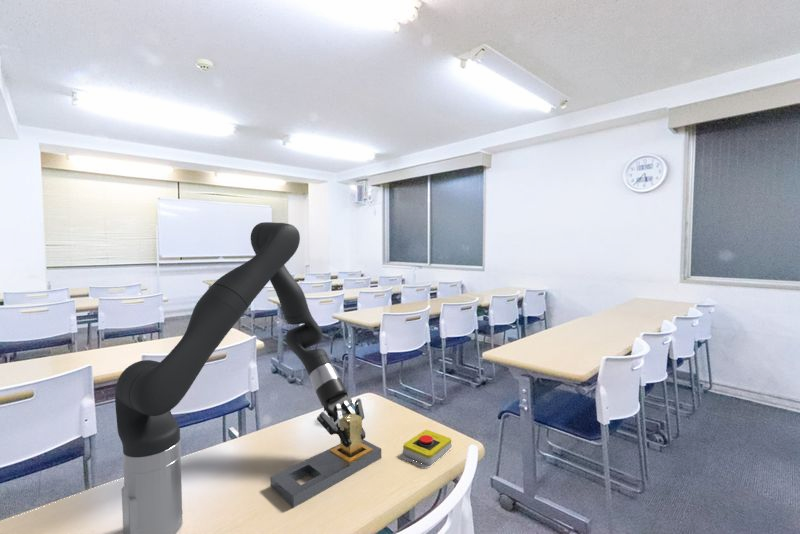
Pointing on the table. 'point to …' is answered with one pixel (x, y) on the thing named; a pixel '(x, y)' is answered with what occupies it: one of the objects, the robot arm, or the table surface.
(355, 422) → the brass peg
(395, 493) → the table surface
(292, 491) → the peg board
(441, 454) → the emergency button
